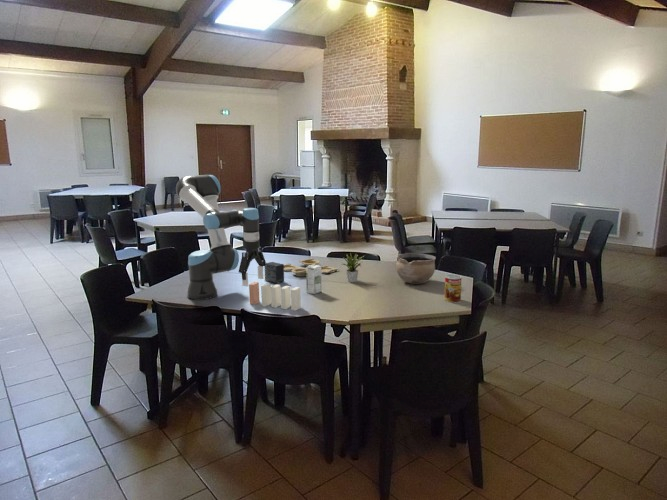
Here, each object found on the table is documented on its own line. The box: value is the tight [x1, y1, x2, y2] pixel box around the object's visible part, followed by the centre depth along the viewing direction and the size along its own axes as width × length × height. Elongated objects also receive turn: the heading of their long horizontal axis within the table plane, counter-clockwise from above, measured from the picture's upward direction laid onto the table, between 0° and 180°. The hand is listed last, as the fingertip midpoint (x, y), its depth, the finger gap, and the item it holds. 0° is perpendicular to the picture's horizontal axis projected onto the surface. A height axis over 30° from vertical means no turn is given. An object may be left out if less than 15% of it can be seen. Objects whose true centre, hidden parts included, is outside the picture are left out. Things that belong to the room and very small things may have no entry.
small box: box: [263, 261, 285, 285], centre depth 285 cm, size 11×6×10 cm, turn 47°
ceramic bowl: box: [395, 252, 437, 285], centre depth 278 cm, size 22×22×15 cm
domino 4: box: [280, 285, 291, 310], centre depth 239 cm, size 2×5×10 cm, turn 155°
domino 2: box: [260, 282, 272, 307], centre depth 244 cm, size 2×5×10 cm, turn 155°
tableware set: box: [284, 257, 339, 277], centre depth 310 cm, size 35×29×4 cm
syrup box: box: [305, 264, 322, 295], centre depth 262 cm, size 6×6×14 cm
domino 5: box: [290, 286, 302, 311], centre depth 237 cm, size 2×5×10 cm, turn 155°
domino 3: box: [270, 284, 282, 309], centre depth 241 cm, size 2×5×10 cm, turn 155°
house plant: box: [341, 252, 365, 283], centre depth 281 cm, size 14×14×16 cm
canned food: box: [444, 274, 462, 303], centre depth 246 cm, size 8×8×12 cm
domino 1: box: [248, 281, 260, 305], centre depth 246 cm, size 2×5×10 cm, turn 155°
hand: (253, 282), depth 246 cm, fingers open, 13 cm apart
